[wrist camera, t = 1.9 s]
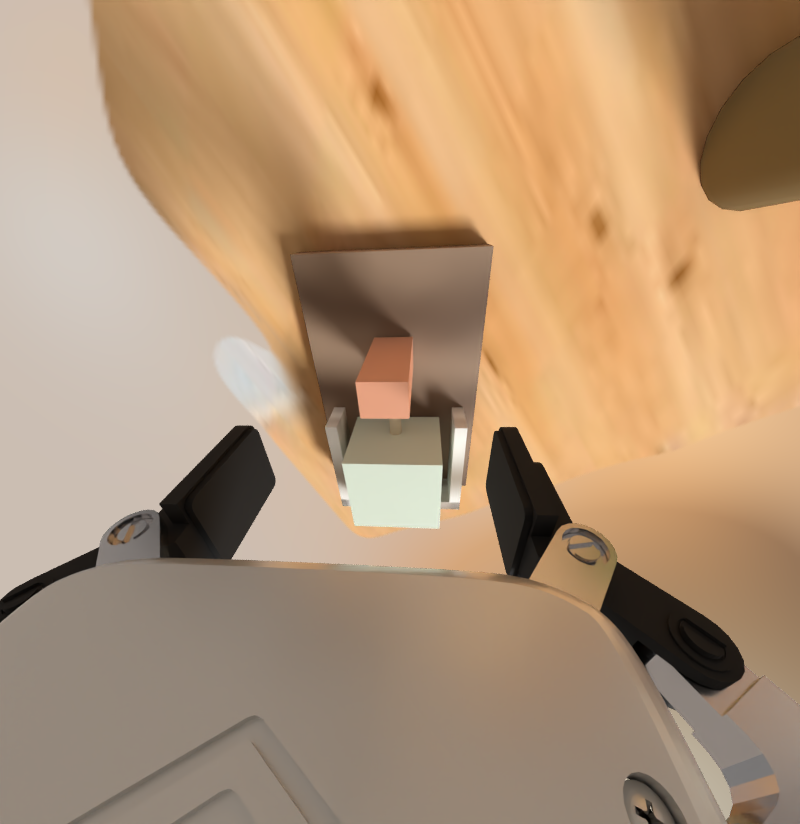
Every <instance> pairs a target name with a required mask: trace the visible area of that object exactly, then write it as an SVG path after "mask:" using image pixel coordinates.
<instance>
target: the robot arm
mask: <svg viewBox="0 0 800 824" xmlns="http://www.w3.org/2000/svg"><path fill="white" fill-rule="evenodd" d="M274 486H275V476H274V473H273V470H272V468H271V465H270V462H269V459H268V457H267V454H266V451H265V449H264V446H263V443H262V440H261V437H260V435H259V432H258V431H257V430H256V429H254V427H253V426H235V427H234V428H233V429H232V430H231V431H230V432H229V433H228V434H227V435H226V436H225V437H224V438H223V439H222V440H221V441H220V442H219V443H218V444H217V445H216V446H215V447H214V448H213V449H212V450H211V451H210V452H209V453H208V454H207V456H206V457H205V458H204V459H203V460H202V461H201V462H200V463H199V464H198V465H197V466H196V467H195V468H194V469H193V470H192V471H191V472H190V473H189V474H188V475H187V476H186V477H185V478H184V479H183V480H182V481H181V482H180V483H179V484H178V485H177V486H176V487H175V488H174V489H173V490H172V491H171V492H170V493H169V494H168V495H167V496H166V498H165V499H163V500H162V502H161V503H160V506H161V507H162V510H161V511H160V512H159V513H158V512H156V511H154V510H143V511H139V512H136V513H133V514H130V515H128V516H126V517H124V518H123V519H121V520H119V521H118V522H117V523H115V524H114V525H113V526H111V528H109V529H108V530H107V531H106V533H105V534H104V535H103V537H102V539H101V541H100V546H99V547H98V548H96V549H94V550H92V551H90V552H88V553H86V554H84V555H81V556H80V557H77V558H75V559H73V560H71V561H69V562H67V563H65V564H62V565H61V566H58V567H56V568H54V569H52V570H50V571H48V572H46V573H43V574H41V575H39V576H37V577H35V578H33V579H31V580H29V581H27V582H25V583H24V584H22V585H19V586H18V587H16V588H14V589H13V590H11V591H10V592H9V593H8V594H6V595H5V596H4V597H3V598H2V599H1V600H0V824H800V705H799V704H798V703H796V702H795V701H794V700H793V699H792V698H790V697H789V696H788V695H787V694H786V693H785V692H783V691H782V690H781V689H780V688H779V687H777V686H776V685H775V684H774V683H773V682H772V681H770V680H769V679H768V678H767V677H766V676H765V675H764V676H762V677H761V678H759V677H757V676H756V675H755V674H754V673H753V672H752V671H751V670H749V669H748V668H747V667H746V666H745V665H744V660H743V658H742V656H741V654H740V652H739V650H738V648H737V647H736V645H735V644H734V643H733V641H732V640H731V639H730V637H729V636H728V635H727V634H726V633H725V632H724V631H723V630H722V629H721V628H720V627H718V626H717V625H716V624H715V623H713V622H712V621H711V620H709V619H708V618H706V617H705V616H704V615H702V614H700V613H699V612H697V611H695V610H694V609H692V608H691V607H689V606H687V605H686V604H684V603H683V602H681V601H679V600H678V599H676V598H674V597H673V596H671V595H670V594H668V593H666V592H665V591H663V590H661V589H659V588H658V587H657V586H655V585H654V584H652V583H650V582H649V581H647V580H645V579H644V578H642V577H640V576H639V575H637V574H636V573H634V572H632V571H631V570H629V569H628V568H626V567H624V566H623V565H621V564H620V563H618V562H617V554H616V552H615V549H614V547H613V546H612V544H611V543H610V541H609V540H608V539H606V538H605V537H604V536H603V535H602V534H601V533H599V532H598V531H596V530H594V529H593V528H590V527H588V526H585V525H582V524H577V523H572V521H571V519H570V517H569V515H568V513H567V511H566V509H565V507H564V505H563V504H562V501H561V499H560V498H559V496H558V494H557V492H556V490H555V488H554V486H553V484H552V482H551V480H550V478H549V476H548V474H547V472H546V470H545V468H544V467H543V465H542V464H541V463H540V462H533V460H532V458H531V456H530V454H529V452H528V450H527V448H526V446H525V444H524V442H523V439H522V437H521V435H520V433H519V431H518V429H517V428H516V427H500V429H499V431H495V432H494V436H493V442H492V448H491V455H490V461H489V467H488V474H487V480H486V491H487V496H488V500H489V504H490V508H491V512H492V516H493V520H494V524H495V528H496V532H497V537H498V541H499V545H500V549H501V553H502V557H503V562H504V565H505V570H506V573H507V575H502V574H494V573H485V572H472V571H458V570H443V569H427V568H406V567H387V566H367V565H346V564H325V563H302V562H280V561H256V560H231V559H232V557H233V555H234V554H235V552H236V550H237V549H238V547H239V545H240V544H241V542H242V540H243V538H244V537H245V535H246V533H247V532H248V530H249V528H250V527H251V525H252V523H253V521H254V520H255V518H256V516H257V515H258V513H259V511H260V510H261V508H262V506H263V504H264V503H265V501H266V500H267V498H268V496H269V494H270V493H271V491H272V489H273V488H274ZM668 707H669V708H671V709H674V710H676V711H677V712H678V713H679V714H680V715H681V716H682V717H683V719H684V720H686V722H687V723H688V724H689V725H690V726H691V727H692V728H693V730H694V732H693V733H692V735H693V736H694V737H695V738H696V739H697V740H698V742H699V743H700V744H701V745H702V746H703V747H704V748H705V749H706V751H707V752H708V753H709V754H710V756H711V757H712V758H713V760H714V761H715V762H716V764H717V765H718V766H719V768H720V769H721V771H722V773H723V775H724V777H725V779H726V781H727V783H728V785H729V787H730V792H731V797H732V803H733V806H732V809H731V812H730V815H729V817H728V818H727V820H725V818H724V816H723V814H722V812H721V810H720V808H719V805H718V804H717V802H716V800H715V798H714V796H713V794H712V792H711V790H710V788H709V786H708V784H707V782H706V780H705V778H704V776H703V774H702V772H701V770H700V768H699V766H698V764H697V762H696V761H695V758H694V756H693V754H692V753H691V751H690V749H689V747H688V745H687V743H686V741H685V739H684V737H683V735H682V733H681V731H680V729H679V727H678V725H677V723H676V722H675V720H674V718H673V716H672V714H671V712H670V711H669V709H668ZM626 778H628V779H630V780H626V781H625V779H626ZM650 806H651V808H652V811H651V809H650Z"/></svg>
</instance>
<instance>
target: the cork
mask: <svg viewBox="0 0 800 824" xmlns="http://www.w3.org/2000/svg"><path fill="white" fill-rule="evenodd" d="M700 169H701V185H702V187H703V189H704V191H705V193H706V195H707V197H708V199H709V200H710V201H711V202H713V203H714V204H716V205H717V206H719V207H720V208H722V209H727V210H735V211H744V210H750V209H755V208H760V207H766V206H771V205H777V204H782V203H788V202H793V201H798V200H800V36H799V37H797V38H796V39H794V40H793V41H791V42H789V43H788V44H786V45H785V46H783V47H781V48H780V49H778V50H777V51H775V52H773V53H772V54H770V55H769V56H768V57H767V58H766V59H765V60H764V61H763V62H762V63H761V64H760V65H758V66H757V67H756V68H755V69H754V70H753V71H752V72H751V73H750V74H749V75H748V76H747V77H746V78H745V79H743V81H742V82H741V83H740V85H739V86H738V87H737V89H736V90H735V91H734V93H733V94H732V95H731V97H730V98H729V99H728V100H727V102H726V103H725V104H724V106H723V107H722V108H721V110H720V112H719V114H718V116H717V118H716V120H715V122H714V124H713V126H712V128H711V130H710V132H709V134H708V136H707V139H706V143H705V147H704V151H703V154H702V158H701V162H700Z"/></svg>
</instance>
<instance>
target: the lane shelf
mask: <svg viewBox="0 0 800 824" xmlns="http://www.w3.org/2000/svg"><path fill="white" fill-rule="evenodd" d="M492 254H493V246H492V245H489V244H480V245H457V246H434V247H411V248H388V249H365V250H343V251H320V252H299V253H296V254H292V255H290V256H291V261H292V265H293V270H294V274H295V279H296V283H297V288H298V292H299V297H300V301H301V306H302V310H303V315H304V319H305V324H306V328H307V333H308V338H309V342H310V347H311V351H312V356H313V360H314V365H315V369H316V374H317V378H318V383H319V387H320V392H321V396H322V401H323V405H324V410H325V414H326V419H327V424H326V426H325V430H326V434H327V439H328V443H329V447H330V452H331V456H332V461H333V465H334V469H335V474H336V478H337V482H338V487H339V491H340V495H341V500H342V504H343V506H351V505H350V501H349V496H348V491H347V486H346V481H345V477H344V472H343V467H342V462H343V459H344V456H345V453H346V450H347V447H348V444H349V441H350V438H351V435H352V432H353V429H354V426H355V423H356V420H357V417H360V412H359V405H358V398H357V391H356V384H355V382H356V379H357V377H358V375H359V372H360V370H361V368H362V365H363V363H364V361H365V358H366V356H367V353H368V351H369V349H370V346H371V344H372V342H373V339H374V338H375V337H413V377H412V390H411V404H410V417H439V423H440V436H441V450H442V463H443V469H442V488H441V507H440V509H459V504H460V495H461V486H462V485H463V486H465V485H466V477H467V468H468V460H469V451H470V443H471V434H472V426H473V417H474V408H475V400H476V391H477V383H478V374H479V366H480V357H481V349H482V340H483V331H484V323H485V314H486V306H487V297H488V289H489V280H490V271H491V263H492Z"/></svg>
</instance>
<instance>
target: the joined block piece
mask: <svg viewBox="0 0 800 824" xmlns="http://www.w3.org/2000/svg"><path fill="white" fill-rule="evenodd" d="M412 377H413V337H375V338H374V339H373V342H372V344H371V346H370V349H369V351H368V353H367V356H366V358H365V361H364V363H363V365H362V368H361V370H360V372H359V375H358V377H357V379H356V382H355V384H356V391H357V398H358V405H359V412H360V417H357V420H356V423H355V426H354V429H353V432H352V435H351V438H350V441H349V444H348V447H347V450H346V453H345V456H344V459H343V462H342V467H343V472H344V477H345V481H346V486H347V491H348V496H349V501H350V505H351V510H352V515H353V520H354V525H355V526H380V527H408V528H437V529H439V527H440V507H441V488H442V469H443V463H442V450H441V436H440V423H439V417H410V404H411V390H412Z"/></svg>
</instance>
